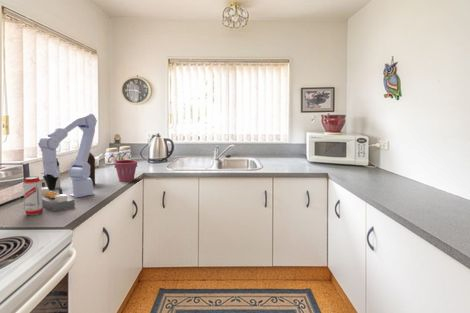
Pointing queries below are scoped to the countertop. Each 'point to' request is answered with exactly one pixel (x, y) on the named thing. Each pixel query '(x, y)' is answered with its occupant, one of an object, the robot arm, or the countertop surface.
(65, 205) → the power strip
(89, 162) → the olive oil
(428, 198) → the countertop surface
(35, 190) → the beer can
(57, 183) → the travel mug
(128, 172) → the plant pot
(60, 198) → the right plug
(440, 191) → the countertop surface
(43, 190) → the left plug
